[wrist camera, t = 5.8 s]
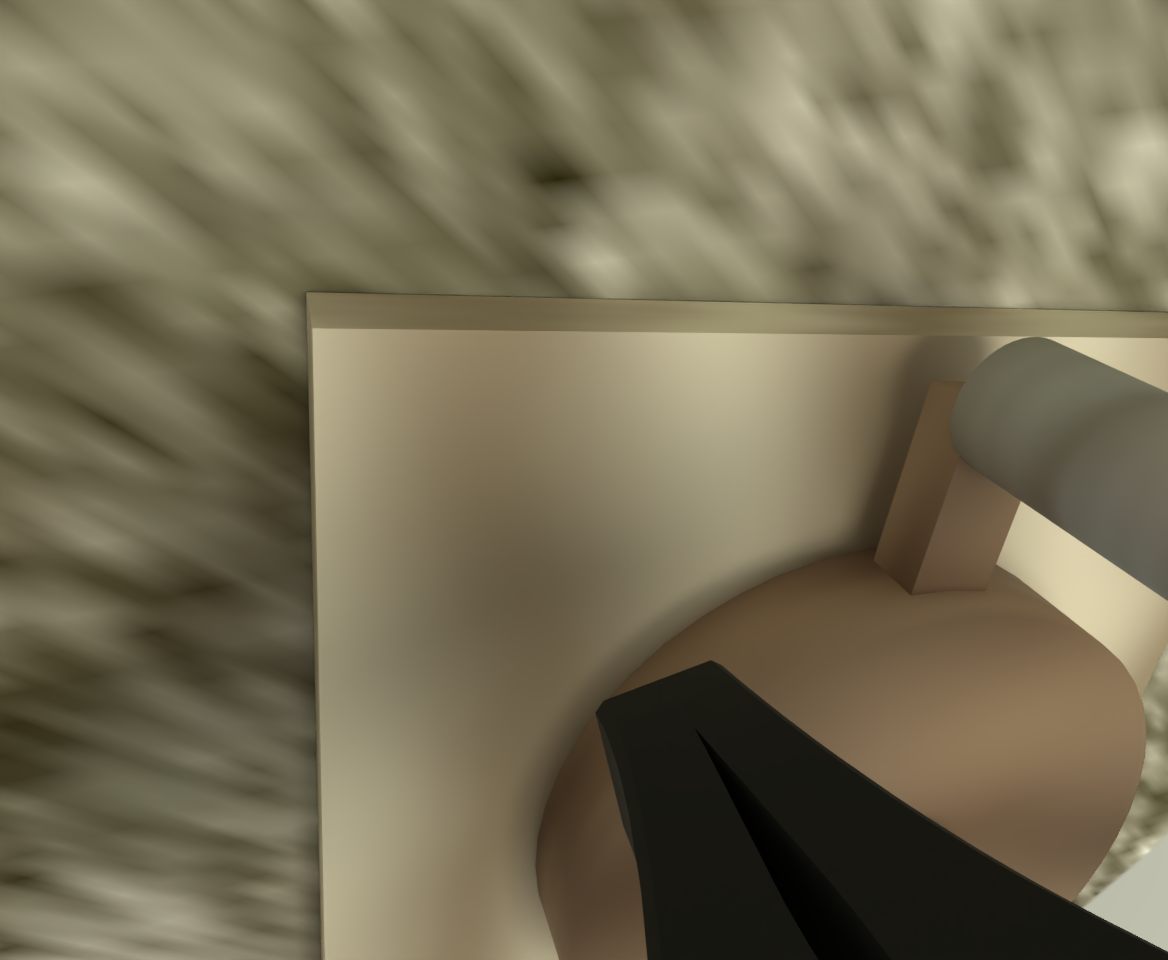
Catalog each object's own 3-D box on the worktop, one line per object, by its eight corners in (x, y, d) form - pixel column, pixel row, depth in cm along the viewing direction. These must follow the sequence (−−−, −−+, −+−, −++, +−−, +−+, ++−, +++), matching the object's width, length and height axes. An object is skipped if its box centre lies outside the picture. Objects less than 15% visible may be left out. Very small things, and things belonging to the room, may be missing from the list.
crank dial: (958, 939, 22) (1135, 1180, 17) (504, 1039, 18) (584, 1376, 14) (1246, 325, 15) (1644, 465, 11) (627, 289, 12) (852, 476, 7)
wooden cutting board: (324, 1099, 20) (329, 1181, 19) (306, 291, 12) (313, 332, 11) (960, 944, 26) (1000, 998, 24) (1237, 313, 18) (1320, 342, 16)
